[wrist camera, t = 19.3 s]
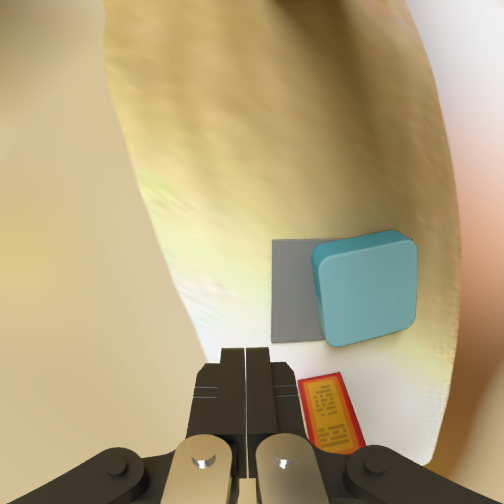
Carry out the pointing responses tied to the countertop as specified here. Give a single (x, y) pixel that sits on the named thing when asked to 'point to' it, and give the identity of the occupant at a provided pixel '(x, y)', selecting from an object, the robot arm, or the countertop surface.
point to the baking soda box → (329, 414)
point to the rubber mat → (294, 291)
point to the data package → (365, 286)
